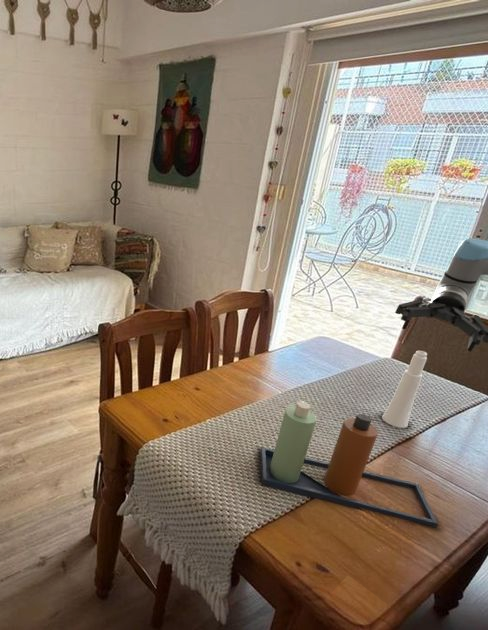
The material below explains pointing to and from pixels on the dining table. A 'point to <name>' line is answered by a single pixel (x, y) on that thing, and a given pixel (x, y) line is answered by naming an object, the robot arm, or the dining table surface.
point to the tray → (319, 491)
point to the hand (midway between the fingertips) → (437, 335)
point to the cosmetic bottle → (406, 392)
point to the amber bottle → (350, 455)
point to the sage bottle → (293, 442)
